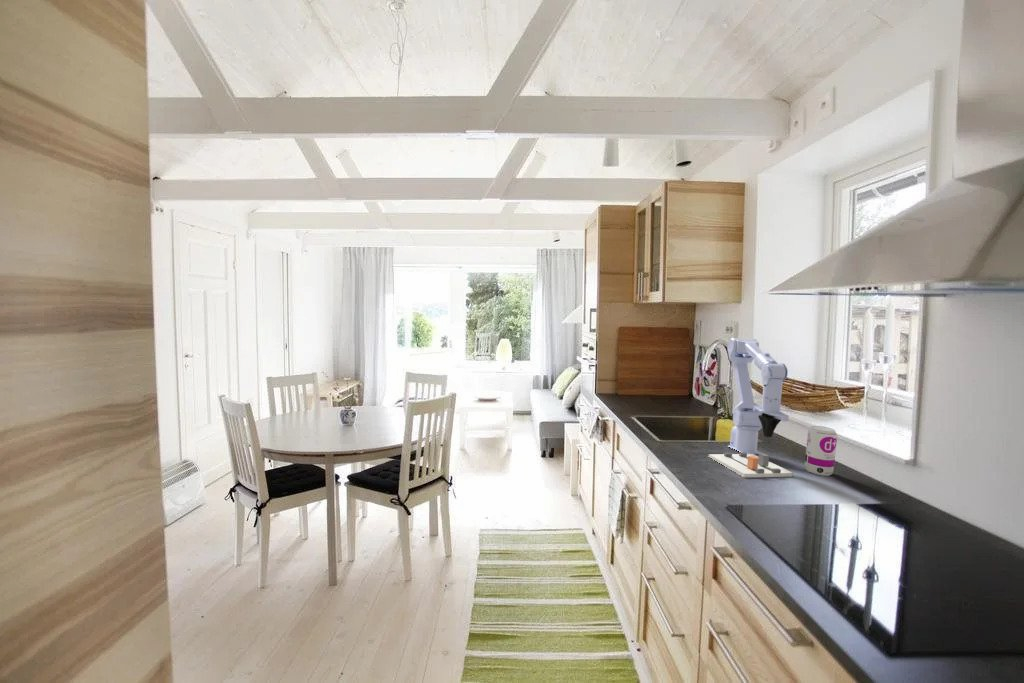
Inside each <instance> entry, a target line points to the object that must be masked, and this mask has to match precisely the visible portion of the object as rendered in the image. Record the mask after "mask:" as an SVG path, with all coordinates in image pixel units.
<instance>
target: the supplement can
mask: <svg viewBox="0 0 1024 683" xmlns="http://www.w3.org/2000/svg"><path fill="white" fill-rule="evenodd" d="M837 440H838V434H837V431H836V429H834V428H831V427H826V426H821V425H811V426H810V428H809V429H808V430H807V438H806V447H805V457H804V469H805V470H806V471H807V472H808V473H810V472H811V474H813V475H818V476H823V477H825V476H827V477H828V476H831V475H833V474H834V467H835V460H836V459H835V458H836V453H837V452H836V450H837V443H838V441H837Z"/></svg>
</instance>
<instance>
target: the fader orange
mask: <svg viewBox="0 0 1024 683" xmlns="http://www.w3.org/2000/svg"><path fill="white" fill-rule="evenodd" d="M758 459H759V458H757V457H755V456H748V463H747V467H749V468H751V469H758Z"/></svg>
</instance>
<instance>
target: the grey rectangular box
mask: <svg viewBox="0 0 1024 683" xmlns="http://www.w3.org/2000/svg"><path fill="white" fill-rule="evenodd" d="M758 456H759V459H758V464H759V465H761V466H768V463H769V462H770V461H769V460H770V455H768V454H766V453H763V452H761V453H759V454H758Z"/></svg>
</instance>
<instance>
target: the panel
mask: <svg viewBox="0 0 1024 683" xmlns="http://www.w3.org/2000/svg"><path fill="white" fill-rule="evenodd" d="M748 456H755V457H757V458H759V455H758V454H747V453H745V452H743V453H740V452H738V453H733V452H724V453H723V454H722V453H721V454H720V453H719V454H717V453H715V454H714V453H713V454H711V453H710V454H708V457H710V458H712V459H713V460H712V459H711V460H712V461H714V460H715V461H717V462H718V463H717V462H716V463H717V464H719V463H720V464H719V465H721V464H722V465H724V466H725V468H726V467H727V468H726V469H728V470H730V471H731V470H732V472H733V471H734V472H733V473H735V472H736V473H735V474H737V475H738V476H740V475H741V476H740V477H742V478H776V477H778V478H782V477H787V478H788V477H793V476H794V472H793V471H790V470H788V469H786V468H785V467H782V466H780V465H778V464H775V463H773V462H771V461H769V463H768V466H761V465H759V464H758V469H751V468H749V467H747V463H748ZM710 458H709V459H710ZM715 461H714V462H715ZM722 465H721V466H722ZM724 466H723V467H724Z"/></svg>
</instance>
